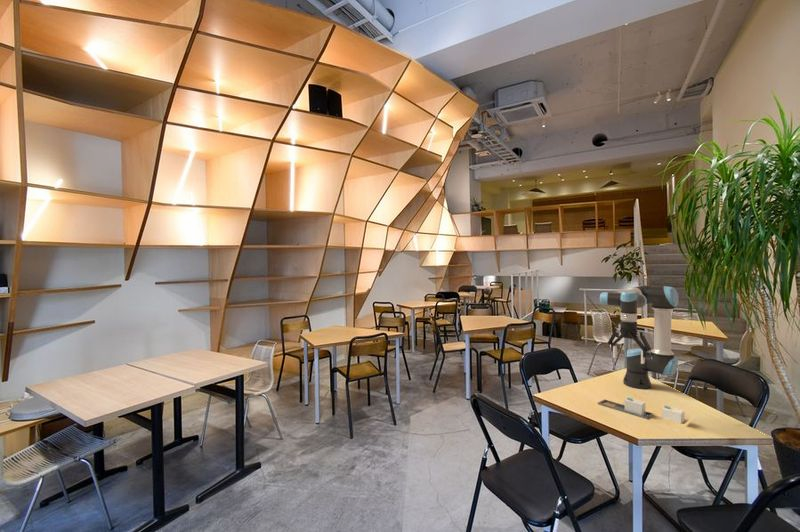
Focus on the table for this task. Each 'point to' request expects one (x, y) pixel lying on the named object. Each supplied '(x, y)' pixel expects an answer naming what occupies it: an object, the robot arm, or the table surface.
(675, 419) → the block
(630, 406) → the module seated
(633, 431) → the table surface
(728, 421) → the table surface
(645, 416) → the rail
